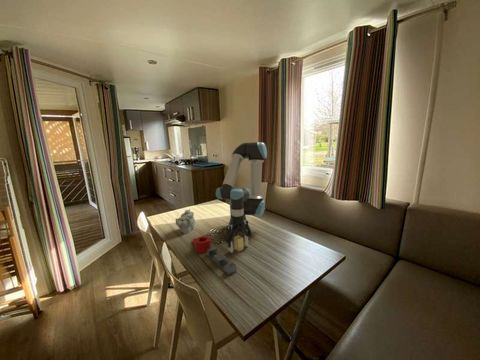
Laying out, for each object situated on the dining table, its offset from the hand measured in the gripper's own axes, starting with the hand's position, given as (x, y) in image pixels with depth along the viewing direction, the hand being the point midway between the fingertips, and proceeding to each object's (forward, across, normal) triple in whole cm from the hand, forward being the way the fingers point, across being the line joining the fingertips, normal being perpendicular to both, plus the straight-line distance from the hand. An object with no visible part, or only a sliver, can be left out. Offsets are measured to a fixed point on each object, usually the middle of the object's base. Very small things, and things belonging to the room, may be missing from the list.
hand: (239, 248), depth 125 cm
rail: (+1, -16, -5) cm, 17 cm away
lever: (+1, -17, +19) cm, 26 cm away
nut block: (+1, 0, 0) cm, 1 cm away
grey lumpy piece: (+1, -17, +45) cm, 48 cm away
